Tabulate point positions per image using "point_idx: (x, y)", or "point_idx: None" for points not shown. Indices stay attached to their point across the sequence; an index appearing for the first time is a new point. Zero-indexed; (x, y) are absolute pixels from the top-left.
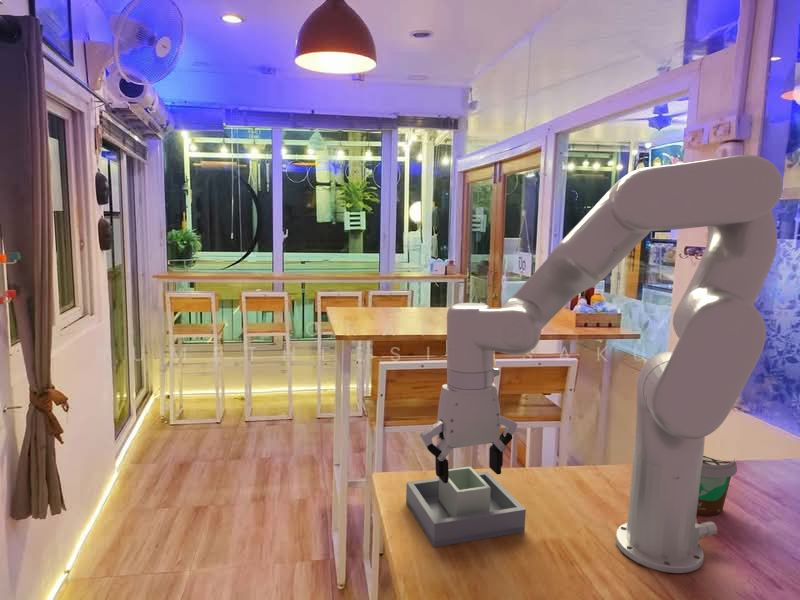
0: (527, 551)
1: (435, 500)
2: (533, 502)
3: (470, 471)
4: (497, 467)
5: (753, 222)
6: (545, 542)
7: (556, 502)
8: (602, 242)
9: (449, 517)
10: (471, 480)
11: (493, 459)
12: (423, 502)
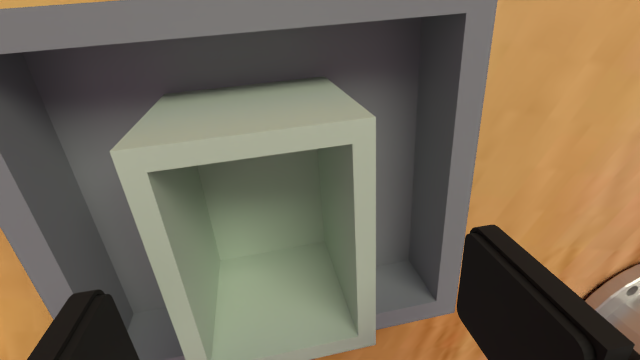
0: None
1: (151, 75)
2: (546, 108)
3: (349, 166)
4: (482, 345)
5: None
6: None
7: (609, 119)
8: None
9: None
10: (337, 164)
11: (508, 338)
12: (41, 264)
